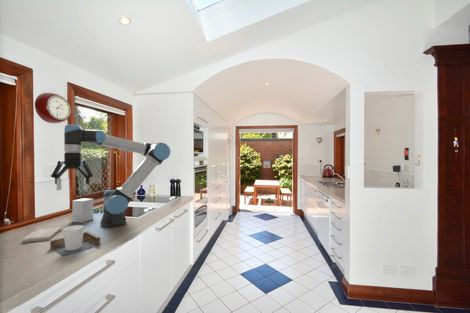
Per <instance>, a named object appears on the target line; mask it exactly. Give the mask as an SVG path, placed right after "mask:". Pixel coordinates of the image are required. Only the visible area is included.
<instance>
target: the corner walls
mask: <svg viewBox="0 0 470 313" xmlns="http://www.w3.org/2000/svg"><path fill="white" fill-rule="evenodd" d="M49 241H50V242H49V248H50V250H55V249H56V248H60V247H64V246H65V240H64V237H60V238H55V239H52V240H51V239H50V240H49ZM83 241H84V242H85V241H88V242H90V243H91V244H93V245H94V246H96V245H98V246H100V245H101V236H99V235H97V234H96V233H93V232H91V231H89V230H88V231H84V232H83Z"/></svg>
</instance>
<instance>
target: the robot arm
mask: <svg viewBox="0 0 470 313" xmlns="http://www.w3.org/2000/svg"><path fill="white" fill-rule="evenodd" d="M63 133H64V136H63V137H64V138H63V139H64V145H63V146H64V150H63V151H64V153H63V155H64V156H63V157H64V158H63V159H64V161H63V160H57V163H56V164H57V165H56V166H55V169H54V170H53V172H52V173H51V175H50V177H51V178H54V181H55V182H54V184H55V185H56V191H61V190H62V178H61V177H62V176H63V175H64V174H65V173H66V171H68V170H72V169H73V170H75V169H76V170H78V171H79V173H81V175H82V176H83V177H84V178H83V190H84V191H85V190H86V191H87V190H88V189H89V184H90V179H91V178H93V177H94V174H93V172H92V170H91V168H90V167H89V165H88V161H87V160H83V161H82V160H81V159H82V153H81V152H82V143H89V144H91V145H98V146H104V147H107V148H112V149H116V150H117V149H118V150H122V151H125V152H132V153H137V154H140V155H141V156H143V157H145V159H144V160H142V162H141V163H140V164H139V165H138V166H137V167H136V169H135V170H134V171H133V172H132V173H131V175H130V176H129V177H128V178H127V179H126V181H124V182H123V183H122V185H121V186H120V187H116V188H115V189H114V190H113V189H110V190H105V191H104V192H103V214H102V217H101V220H100V221H99V222H100V223H99V225H100V227H101V228H115V226H116V227H120V226H123V225H125V224H126V223H127V219H126V215H125V213H124V212H126V210H127V209H128V207H129V203H130V202H131V201H132V200H133V195H134V194H135V192H136V191H137V190H138V189H139V187H140V186H141V185H142V184H143V183H144V181H145V180H146V179H147V178H148V177H149V175H150V174H151V173H152V172H153V171H154V169H155V168H156V167H157V166H160V165H162V163H163V162H164V161H165V160H167V159H168V158H169V157H170V155H171V148H170V146H169V145H168V144H166V143H165V142H156V143H148V142H144V143H143V142H139V141H134V140H129V139H125V138H120V137H117V136H112V135H109V134H108V135H107V134H106V131H104V130H101V129H84V128H82V126H81V125H78V124H66V125H65V126H64V132H63ZM63 165H64V166H63ZM82 166H83V167H82ZM61 168H62V169H61ZM83 168H84V169H83ZM122 224H123V225H122Z"/></svg>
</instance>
